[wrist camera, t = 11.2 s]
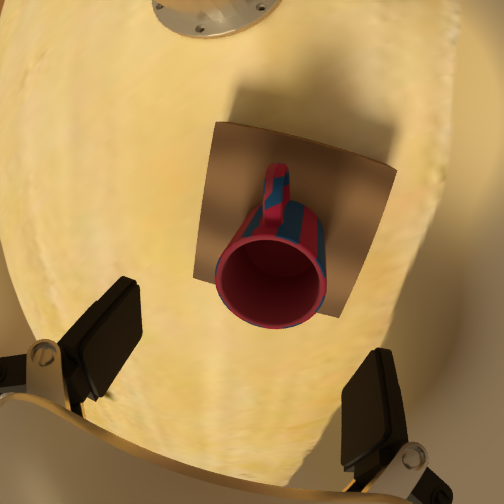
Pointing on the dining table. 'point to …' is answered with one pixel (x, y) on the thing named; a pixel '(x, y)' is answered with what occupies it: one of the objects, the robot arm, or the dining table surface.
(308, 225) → the mug
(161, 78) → the dining table surface
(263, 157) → the walnut block
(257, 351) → the dining table surface
